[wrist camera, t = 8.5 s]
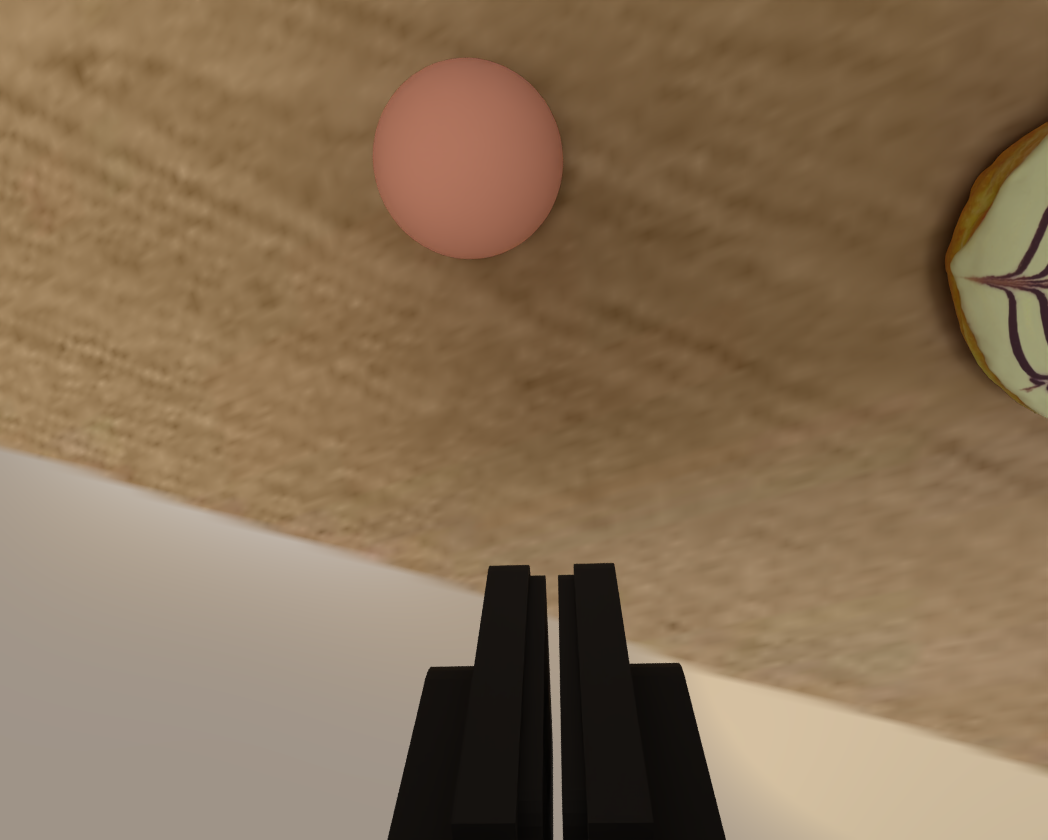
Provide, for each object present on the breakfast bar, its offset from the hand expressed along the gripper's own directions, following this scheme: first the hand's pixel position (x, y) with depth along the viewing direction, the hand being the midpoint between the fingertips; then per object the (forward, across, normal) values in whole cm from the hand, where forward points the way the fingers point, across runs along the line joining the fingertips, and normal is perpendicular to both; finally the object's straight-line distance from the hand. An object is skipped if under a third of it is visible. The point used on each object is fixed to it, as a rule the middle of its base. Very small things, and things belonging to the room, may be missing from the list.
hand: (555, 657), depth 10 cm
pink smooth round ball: (+14, +2, -6) cm, 16 cm away
